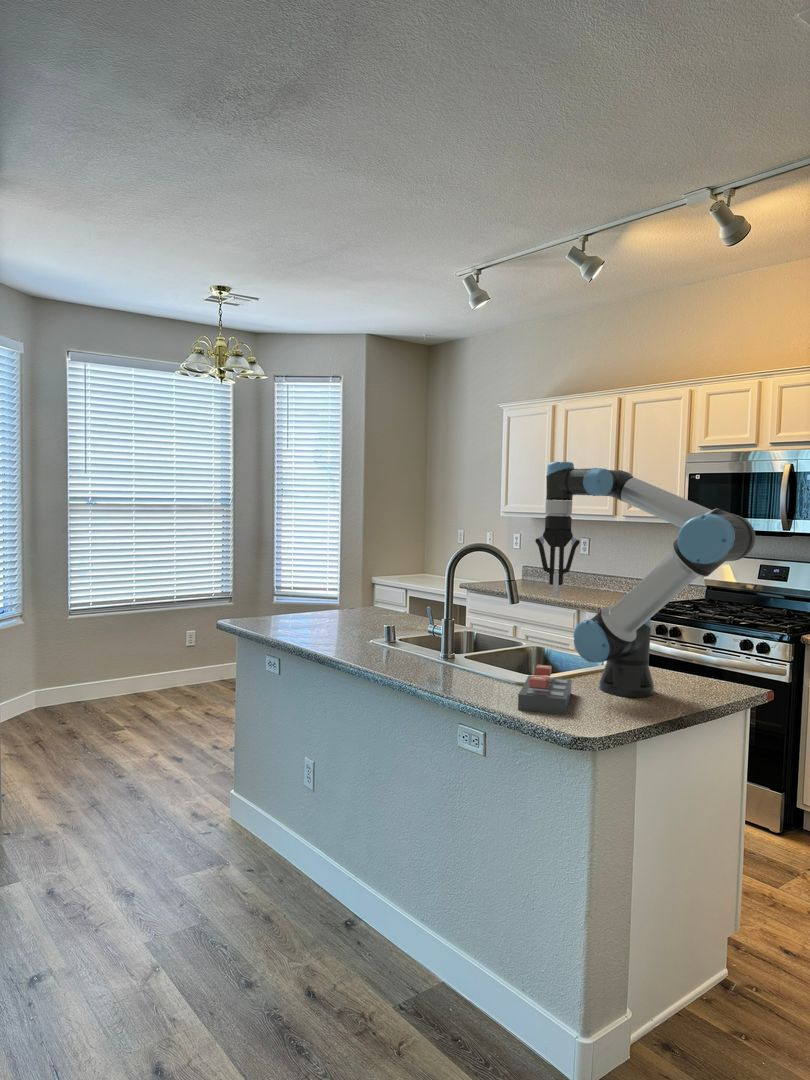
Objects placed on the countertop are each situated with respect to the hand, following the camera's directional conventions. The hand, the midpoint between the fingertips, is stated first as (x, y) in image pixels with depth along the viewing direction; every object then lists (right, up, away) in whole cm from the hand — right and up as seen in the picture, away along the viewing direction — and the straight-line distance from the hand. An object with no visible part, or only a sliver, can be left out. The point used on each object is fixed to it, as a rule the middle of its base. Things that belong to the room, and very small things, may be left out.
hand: (555, 596), depth 217 cm
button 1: (-5, -21, -9) cm, 24 cm away
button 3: (-9, -22, -23) cm, 33 cm away
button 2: (-7, -23, -16) cm, 29 cm away
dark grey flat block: (-6, -27, -15) cm, 31 cm away
